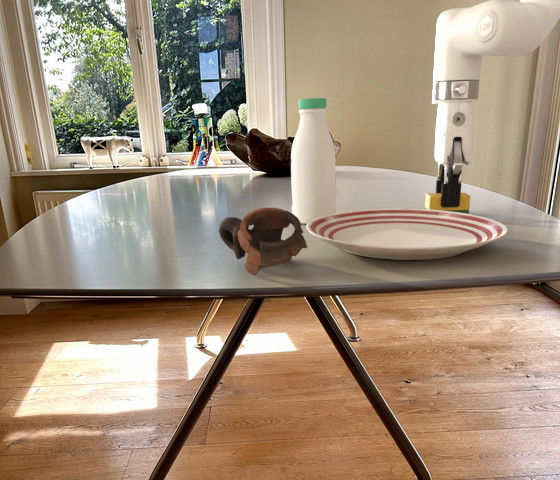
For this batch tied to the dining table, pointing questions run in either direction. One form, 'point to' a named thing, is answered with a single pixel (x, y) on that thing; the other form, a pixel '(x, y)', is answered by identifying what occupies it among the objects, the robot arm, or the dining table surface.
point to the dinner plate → (406, 232)
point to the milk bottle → (313, 164)
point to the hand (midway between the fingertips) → (446, 203)
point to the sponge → (435, 204)
